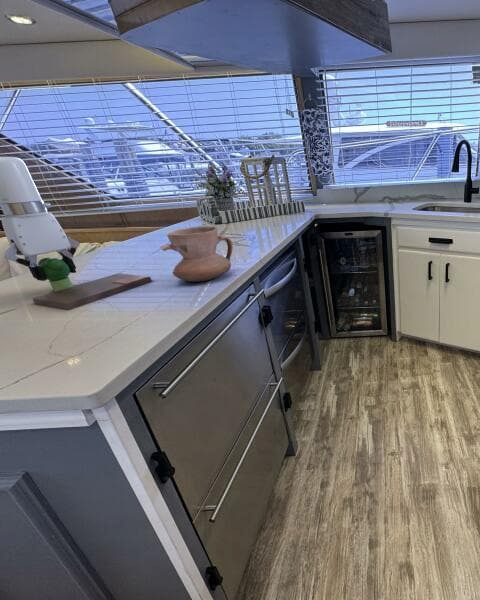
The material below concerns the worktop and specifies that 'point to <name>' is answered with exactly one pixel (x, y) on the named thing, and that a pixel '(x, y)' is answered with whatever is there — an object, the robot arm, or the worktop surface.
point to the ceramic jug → (199, 253)
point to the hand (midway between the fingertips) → (57, 275)
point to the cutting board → (91, 291)
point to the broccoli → (56, 273)
